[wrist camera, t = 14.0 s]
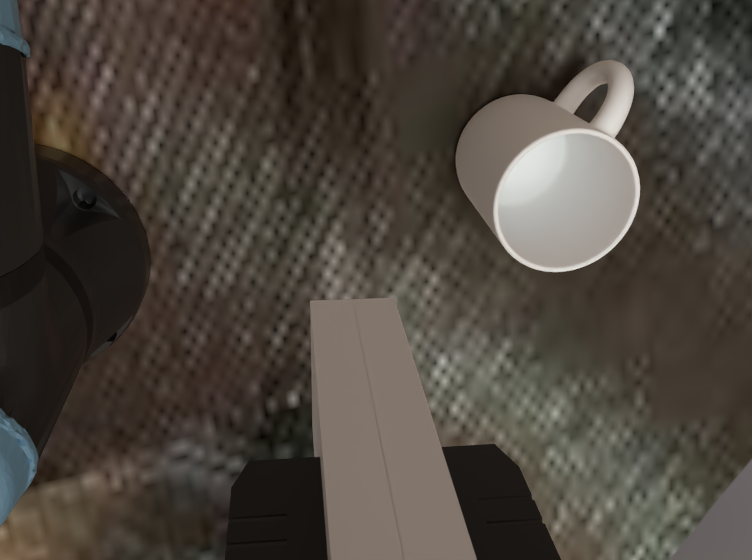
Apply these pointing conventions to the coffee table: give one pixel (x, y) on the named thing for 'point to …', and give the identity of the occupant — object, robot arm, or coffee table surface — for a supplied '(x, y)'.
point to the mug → (553, 171)
